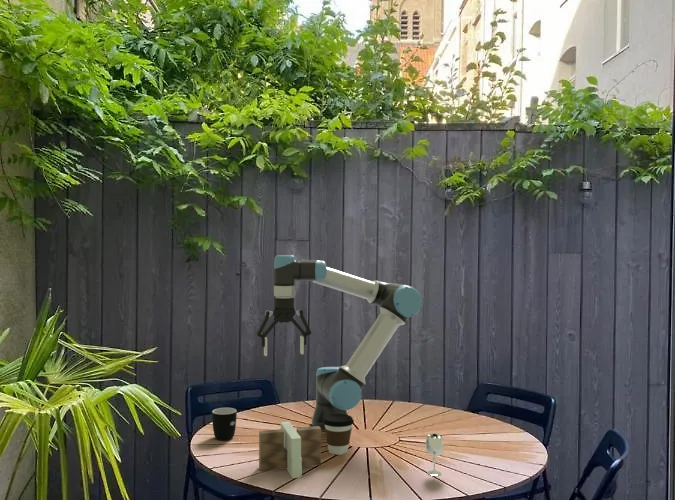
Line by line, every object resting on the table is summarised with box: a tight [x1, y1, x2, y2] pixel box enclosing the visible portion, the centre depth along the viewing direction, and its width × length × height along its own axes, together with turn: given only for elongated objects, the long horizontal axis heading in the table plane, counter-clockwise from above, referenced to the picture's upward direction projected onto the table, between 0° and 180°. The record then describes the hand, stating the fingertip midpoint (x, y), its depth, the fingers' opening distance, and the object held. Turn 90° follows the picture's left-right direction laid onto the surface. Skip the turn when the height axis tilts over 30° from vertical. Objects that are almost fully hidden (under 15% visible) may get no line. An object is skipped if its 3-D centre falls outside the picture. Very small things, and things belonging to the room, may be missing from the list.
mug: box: [211, 407, 238, 441], centre depth 229 cm, size 12×9×10 cm
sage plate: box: [280, 421, 303, 479], centre depth 200 cm, size 3×20×12 cm, turn 16°
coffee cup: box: [323, 414, 355, 456], centre depth 214 cm, size 11×11×12 cm
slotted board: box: [258, 426, 322, 472], centre depth 200 cm, size 20×3×12 cm, turn 106°
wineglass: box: [424, 433, 445, 477], centre depth 195 cm, size 6×6×12 cm
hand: (283, 354), depth 225 cm, fingers open, 13 cm apart
